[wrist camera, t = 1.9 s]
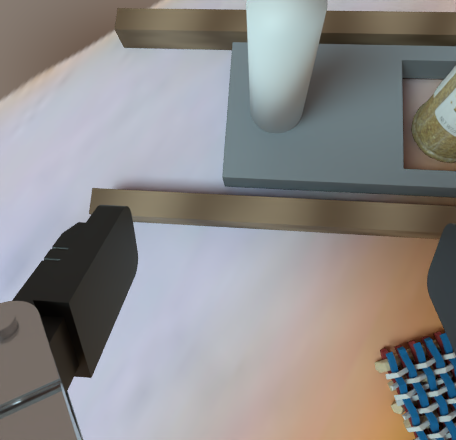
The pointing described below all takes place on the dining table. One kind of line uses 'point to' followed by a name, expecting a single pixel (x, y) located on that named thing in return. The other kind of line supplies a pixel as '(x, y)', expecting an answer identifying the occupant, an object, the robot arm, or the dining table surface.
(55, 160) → the dining table surface
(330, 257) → the dining table surface
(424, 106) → the sprinkles bottle
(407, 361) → the woven mat
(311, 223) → the guide rails
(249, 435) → the dining table surface
